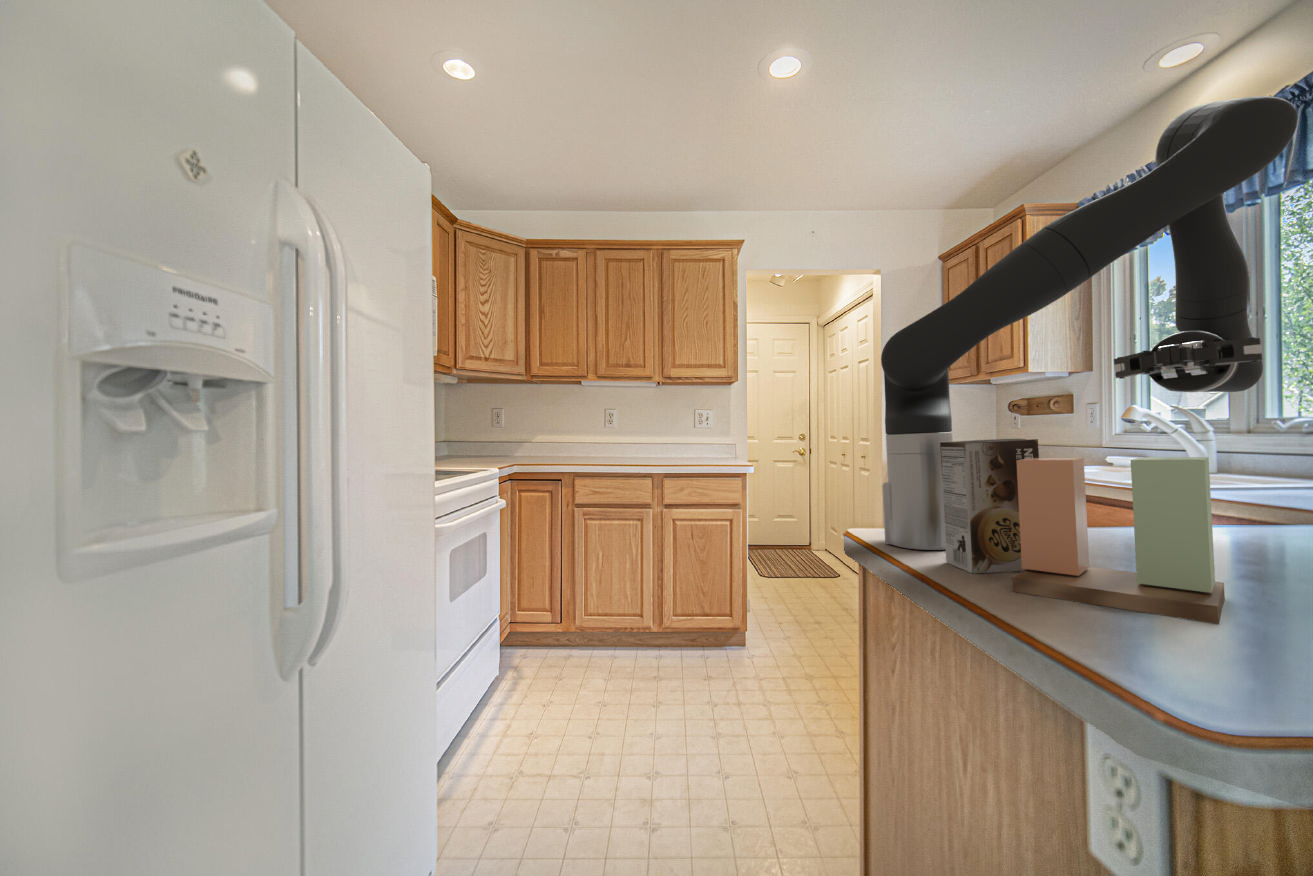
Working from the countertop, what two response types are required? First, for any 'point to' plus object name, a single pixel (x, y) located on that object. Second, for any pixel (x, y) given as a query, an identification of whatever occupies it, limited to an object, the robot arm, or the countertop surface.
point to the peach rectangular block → (1053, 515)
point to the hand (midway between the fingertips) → (1169, 355)
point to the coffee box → (983, 503)
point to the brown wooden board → (1123, 593)
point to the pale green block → (1173, 522)
